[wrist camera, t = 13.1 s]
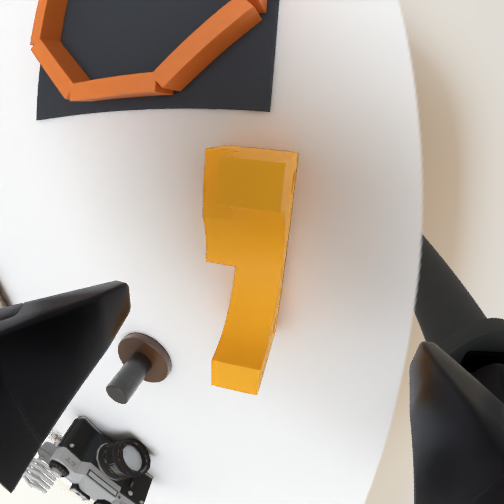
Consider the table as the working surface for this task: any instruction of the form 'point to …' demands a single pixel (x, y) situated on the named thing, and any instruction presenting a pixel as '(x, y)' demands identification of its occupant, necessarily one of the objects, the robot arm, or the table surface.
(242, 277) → the pipe clamp
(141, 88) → the ring
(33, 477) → the light bulb
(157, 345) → the stake
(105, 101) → the mat
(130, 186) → the table surface
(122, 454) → the camera
